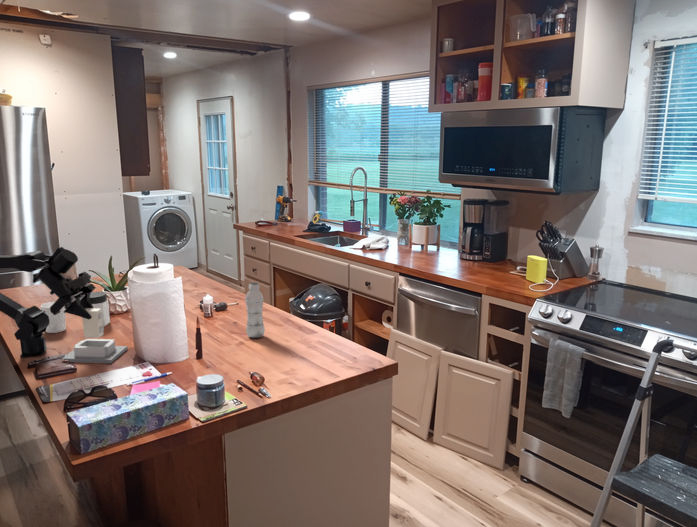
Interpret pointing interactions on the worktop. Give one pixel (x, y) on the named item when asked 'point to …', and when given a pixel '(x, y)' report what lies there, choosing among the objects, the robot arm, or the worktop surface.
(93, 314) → the cream rectangular block
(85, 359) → the hinge base
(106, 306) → the jar
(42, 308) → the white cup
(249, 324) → the plastic bottle
